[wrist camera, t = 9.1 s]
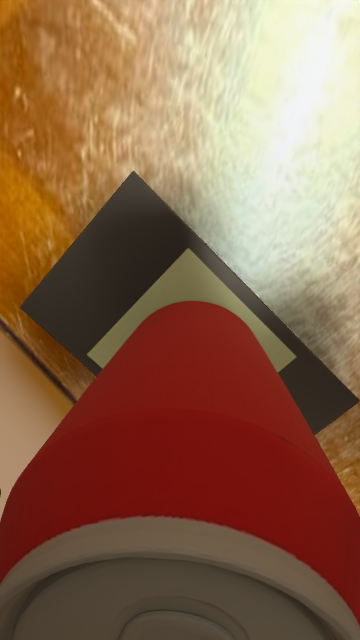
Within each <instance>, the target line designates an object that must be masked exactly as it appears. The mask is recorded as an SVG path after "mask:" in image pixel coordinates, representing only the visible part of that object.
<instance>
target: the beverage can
mask: <svg viewBox="0 0 360 640" xmlns="http://www.w3.org/2000/svg"><path fill="white" fill-rule="evenodd" d="M0 640H360V516H359V514H358V512H357V510H356V508H355V506H354V504H353V503H352V501H351V499H350V497H349V495H348V494H347V492H346V490H345V488H344V487H343V485H342V483H341V481H340V480H339V478H338V476H337V474H336V473H335V471H334V469H333V467H332V466H331V464H330V462H329V460H328V458H327V457H326V455H325V453H324V451H323V450H322V448H321V446H320V444H319V443H318V441H317V439H316V437H315V436H314V434H313V432H312V430H311V429H310V427H309V425H308V423H307V422H306V420H305V418H304V417H303V415H302V413H301V411H300V410H299V408H298V406H297V405H296V403H295V401H294V399H293V398H292V396H291V394H290V393H289V391H288V389H287V387H286V386H285V384H284V382H283V381H282V379H281V377H280V376H279V374H278V372H277V371H276V369H275V368H274V366H273V364H272V363H271V361H270V359H269V358H268V356H267V354H266V353H265V351H264V349H263V348H262V346H261V345H260V343H259V341H258V340H257V338H256V337H255V335H254V334H253V332H252V331H251V329H250V328H249V327H248V325H247V324H246V323H245V322H244V321H243V320H242V319H241V318H239V317H238V316H237V315H236V314H234V313H233V312H231V311H229V310H228V309H226V308H224V307H221V306H219V305H216V304H213V303H209V302H203V301H182V302H177V303H173V304H170V305H167V306H164V307H162V308H160V309H158V310H156V311H155V312H153V313H152V314H150V315H149V316H148V317H147V318H146V319H145V320H143V321H142V323H141V324H140V325H139V326H138V327H137V328H136V329H135V331H134V332H133V333H132V334H131V335H130V336H129V338H128V339H127V340H126V341H125V342H124V344H123V345H122V346H121V347H120V348H119V350H118V351H117V352H116V353H115V355H114V356H113V357H112V358H111V359H110V361H109V362H108V363H107V364H106V366H105V367H104V368H103V369H102V371H101V372H100V373H99V374H98V376H97V377H96V378H95V379H94V381H93V382H92V383H91V385H90V386H89V387H88V388H87V390H86V391H85V392H84V393H83V395H82V396H81V397H80V398H79V400H78V401H77V402H76V403H75V405H74V406H73V407H72V409H71V410H70V411H69V413H68V414H67V415H66V416H65V418H64V419H63V420H62V422H61V423H60V424H59V426H58V427H57V428H56V430H55V431H54V432H53V433H52V435H51V436H50V437H49V439H48V440H47V441H46V442H45V444H44V445H43V446H42V447H41V449H40V450H39V451H38V453H37V454H36V455H35V457H34V458H33V459H32V460H31V462H30V463H29V464H28V466H27V467H26V468H25V470H24V471H23V472H22V474H21V475H20V477H19V478H18V480H17V481H16V483H15V485H14V486H13V488H12V490H11V492H10V495H9V497H8V499H7V502H6V505H5V508H4V511H3V514H2V518H1V521H0Z"/></svg>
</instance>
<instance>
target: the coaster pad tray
mask: <svg viewBox="0 0 360 640" xmlns="http://www.w3.org/2000/svg"><path fill="white" fill-rule="evenodd" d="M182 301H203V302H209V303H213V304H216V305H219V306H221V307H224V308H226V309H228V310H229V311H231V312H233V313H234V314H236V315H237V316H238V317H239V318H241V319H242V320H243V321H244V322H245V323H246V324H247V325H248V327H249V328H250V329H251V331H252V332H253V334H254V335H255V337H256V338H257V340H258V341H259V343H260V345H261V346H262V348H263V349H264V351H265V353H266V354H267V356H268V358H269V359H270V361H271V363H272V364H273V366H274V368H275V369H276V371H277V372H278V374H279V376H280V377H281V379H282V381H283V382H284V384H285V386H286V387H287V389H288V391H289V393H290V394H291V396H292V398H293V399H294V401H295V403H296V405H297V406H298V408H299V410H300V411H301V413H302V415H303V417H304V418H305V420H306V422H307V423H308V425H309V427H310V429H311V430H312V432H313V434H314V436H315V435H316V434H317V433H319V432H320V431H321V430H322V429H324V428H325V427H326V426H328V425H329V424H330V423H332V422H333V421H334V420H336V419H337V418H338V417H340V416H341V415H342V414H344V413H345V412H346V411H348V410H349V409H350V408H352V407H353V406H354V405H356V404H357V403H358V402H359V399H358V398H357V397H356V396H355V395H354V394H353V393H352V392H351V391H350V390H349V389H348V388H347V387H346V386H345V385H344V384H343V383H342V382H341V381H340V380H339V379H338V378H337V377H336V376H335V375H334V374H333V373H332V372H331V371H330V370H329V369H328V368H327V367H326V366H325V365H324V364H323V363H322V362H321V361H320V360H319V359H318V358H317V357H316V356H315V355H314V354H313V352H312V351H311V350H310V349H309V348H308V347H307V346H306V345H305V344H304V343H303V342H302V341H301V340H300V339H299V338H298V337H297V336H296V335H295V334H294V333H293V332H292V331H291V330H290V329H289V328H288V327H287V326H286V325H285V324H284V323H283V322H282V321H281V320H280V319H279V318H278V317H277V316H276V315H275V314H274V313H273V312H272V311H271V310H270V309H269V308H268V307H267V306H266V305H265V304H264V303H263V302H262V301H261V300H260V299H259V298H258V297H257V296H256V295H255V294H254V293H253V292H252V290H251V289H250V288H249V287H248V286H247V285H246V284H245V283H244V282H243V281H242V280H241V279H240V278H239V277H238V276H237V275H236V274H235V273H234V272H233V271H232V270H231V269H230V268H229V267H228V266H227V265H226V264H225V263H224V262H223V261H222V260H221V259H220V258H219V257H218V256H217V255H216V254H215V253H214V252H213V251H212V250H211V249H210V248H209V247H208V246H207V245H206V244H205V243H204V242H203V241H202V240H201V239H200V238H199V237H198V236H197V235H196V234H195V233H194V232H193V231H192V229H191V228H190V227H189V226H188V225H187V224H186V223H185V222H184V221H183V220H182V219H181V218H180V217H179V216H178V215H177V214H176V213H175V212H174V211H173V210H172V209H171V208H170V207H169V206H168V205H167V204H166V203H165V202H164V201H163V200H162V199H161V198H160V197H159V196H158V195H157V194H156V193H155V192H154V191H153V190H152V189H151V188H150V187H149V186H148V185H147V184H146V183H145V182H144V181H143V180H142V179H141V178H140V177H139V176H138V175H137V174H136V173H135V172H134V171H132V173H131V174H130V175H129V176H128V177H127V179H126V180H125V181H124V182H123V183H122V185H121V186H120V187H119V188H118V189H117V191H116V192H115V193H114V194H113V196H112V197H111V198H110V199H109V200H108V202H107V203H106V204H105V205H104V206H103V208H102V209H101V210H100V211H99V212H98V214H97V215H96V216H95V217H94V218H93V220H92V221H91V222H90V223H89V224H88V226H87V227H86V228H85V229H84V230H83V232H82V233H81V234H80V235H79V236H78V238H77V239H76V240H75V241H74V243H73V244H72V245H71V246H70V247H69V249H68V250H67V251H66V252H65V253H64V255H63V256H62V257H61V258H60V259H59V261H58V262H57V263H56V264H55V265H54V267H53V268H52V269H51V270H50V271H49V273H48V274H47V275H46V276H45V277H44V279H43V280H42V281H41V282H40V283H39V285H38V286H37V287H36V288H35V290H34V291H33V292H32V293H31V294H30V296H29V297H28V298H27V299H26V300H25V302H24V303H23V304H22V305H21V306H20V308H21V309H22V310H23V311H24V312H25V313H26V314H27V315H28V316H30V317H31V318H32V319H33V320H34V321H35V322H36V323H37V324H39V325H40V326H41V327H42V328H43V329H44V330H45V331H46V332H48V333H49V334H50V335H51V336H52V337H53V338H54V339H55V340H57V341H58V342H59V343H60V344H61V345H62V346H63V347H64V348H66V349H67V350H68V351H69V352H70V353H71V354H72V355H73V356H75V357H76V358H77V359H78V360H79V361H80V362H81V363H82V364H84V365H85V366H86V367H87V368H88V369H89V370H90V371H91V372H93V373H94V374H95V375H96V376H98V374H99V373H100V372H101V371H102V369H103V368H104V367H105V366H106V364H107V363H108V362H109V361H110V359H111V358H112V357H113V356H114V355H115V353H116V352H117V351H118V350H119V348H120V347H121V346H122V345H123V344H124V342H125V341H126V340H127V339H128V338H129V336H130V335H131V334H132V333H133V332H134V331H135V329H136V328H137V327H138V326H139V325H140V324H141V323H142V321H143V320H145V319H146V318H147V317H148V316H149V315H150V314H152V313H153V312H155V311H156V310H158V309H160V308H162V307H164V306H167V305H170V304H173V303H177V302H182Z"/></svg>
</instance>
